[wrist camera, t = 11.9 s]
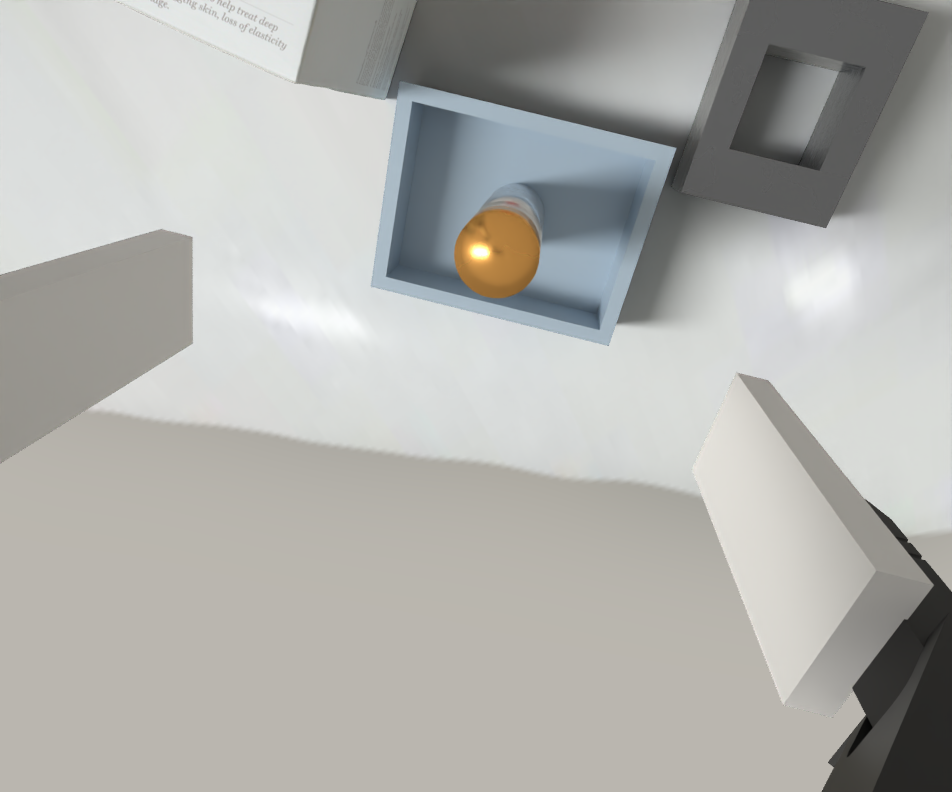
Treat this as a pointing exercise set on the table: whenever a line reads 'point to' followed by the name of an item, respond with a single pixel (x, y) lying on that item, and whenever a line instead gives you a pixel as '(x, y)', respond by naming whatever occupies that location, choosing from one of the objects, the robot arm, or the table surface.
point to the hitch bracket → (841, 122)
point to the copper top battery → (502, 242)
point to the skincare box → (298, 36)
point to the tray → (545, 171)
